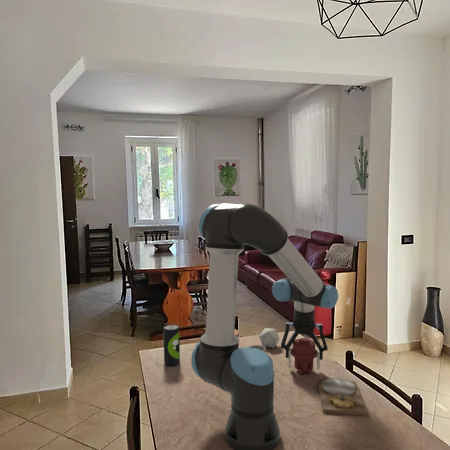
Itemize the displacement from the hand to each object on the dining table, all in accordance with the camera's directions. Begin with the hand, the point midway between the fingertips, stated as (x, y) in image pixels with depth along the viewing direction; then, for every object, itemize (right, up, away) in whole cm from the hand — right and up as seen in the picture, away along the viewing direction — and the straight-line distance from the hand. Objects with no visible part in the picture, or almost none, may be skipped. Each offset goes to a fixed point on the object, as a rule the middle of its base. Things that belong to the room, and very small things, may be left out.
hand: (303, 366), depth 147 cm
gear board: (+8, -3, -19) cm, 21 cm away
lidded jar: (-29, -1, +22) cm, 36 cm away
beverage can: (-51, -2, +8) cm, 52 cm away
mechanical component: (0, -2, 0) cm, 2 cm away
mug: (-18, -2, +8) cm, 20 cm away
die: (-10, 0, +25) cm, 27 cm away
